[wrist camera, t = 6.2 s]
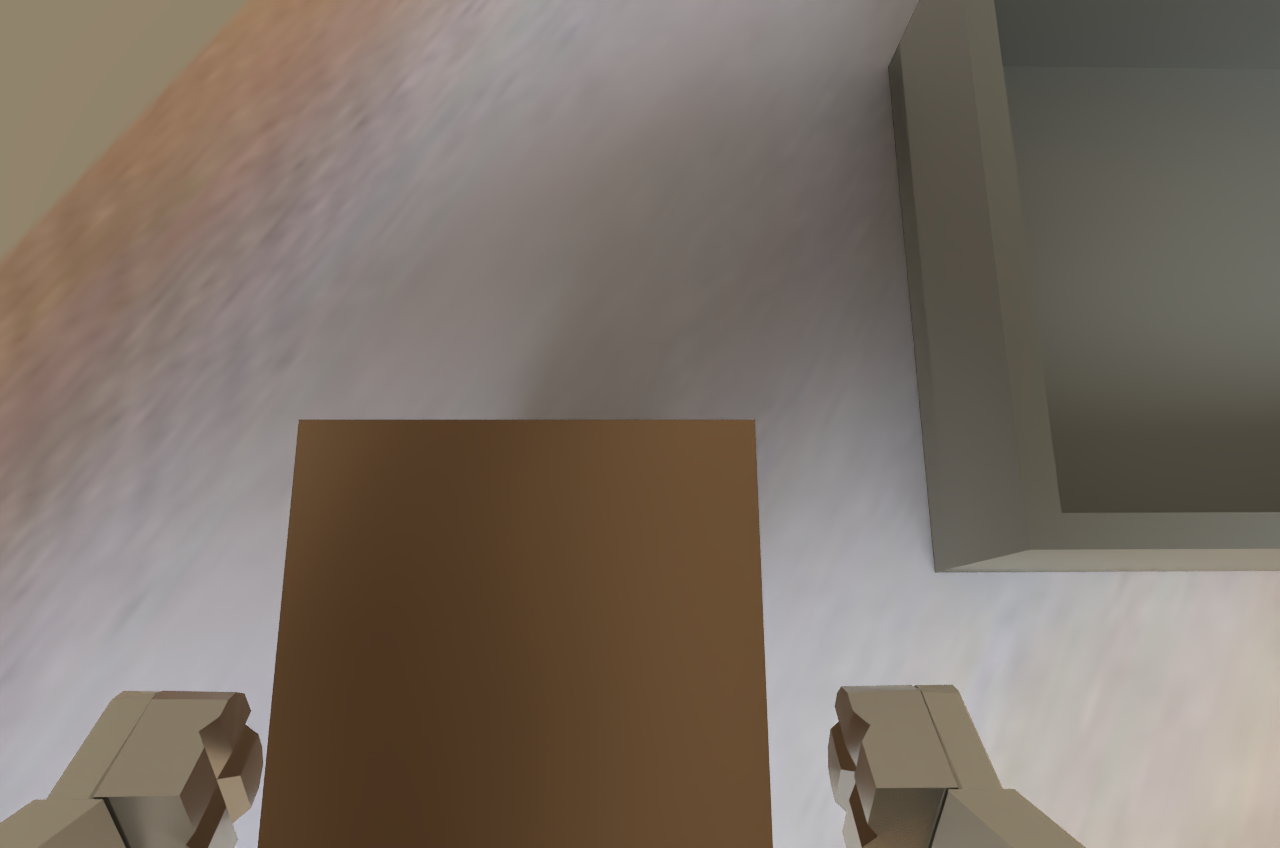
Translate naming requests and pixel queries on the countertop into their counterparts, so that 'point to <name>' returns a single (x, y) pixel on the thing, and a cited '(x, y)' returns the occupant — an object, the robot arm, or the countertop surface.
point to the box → (1095, 280)
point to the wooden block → (520, 638)
